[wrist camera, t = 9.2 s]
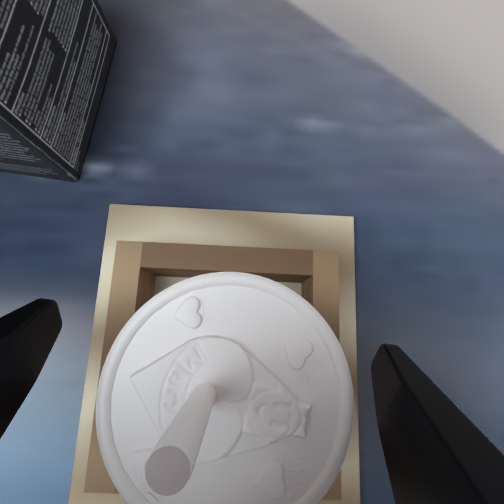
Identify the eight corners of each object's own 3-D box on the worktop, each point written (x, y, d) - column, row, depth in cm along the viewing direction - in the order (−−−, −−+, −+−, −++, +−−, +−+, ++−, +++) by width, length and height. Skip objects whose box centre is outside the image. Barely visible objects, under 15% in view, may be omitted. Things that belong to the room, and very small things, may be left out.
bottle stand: (355, 525, 17) (388, 582, 13) (72, 518, 16) (24, 574, 13) (349, 220, 20) (373, 197, 16) (115, 208, 20) (86, 182, 16)
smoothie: (190, 285, 18) (47, 166, 5) (304, 313, 18) (507, 279, 4) (155, 408, 17) (-199, 769, 3) (279, 439, 17) (461, 947, 3)
